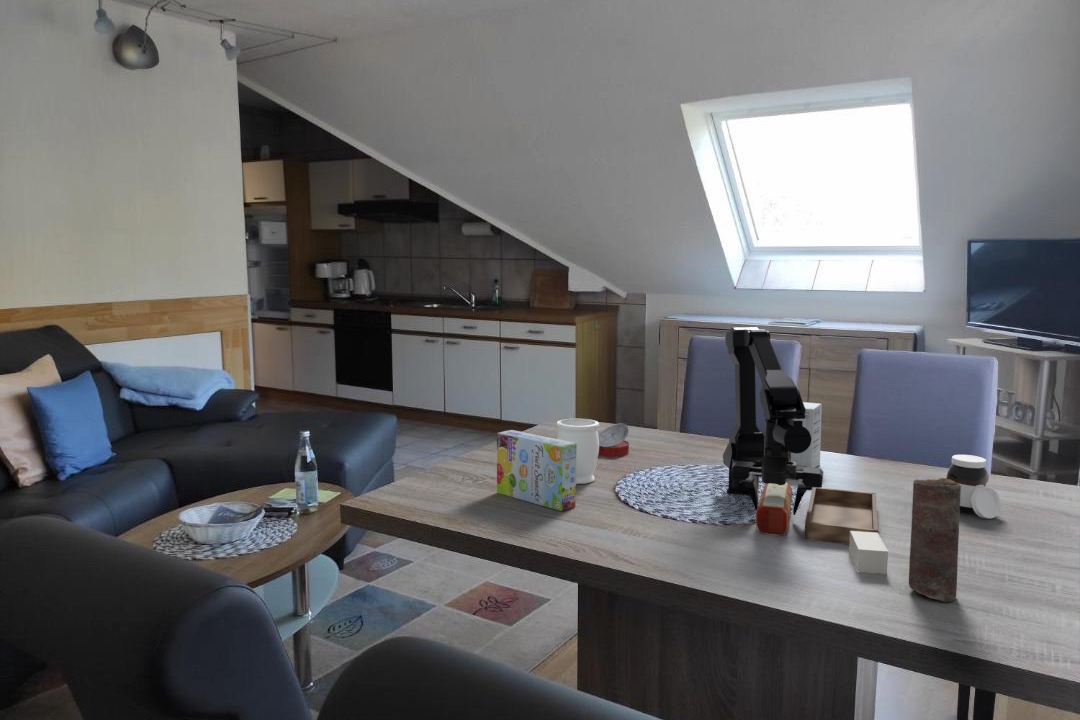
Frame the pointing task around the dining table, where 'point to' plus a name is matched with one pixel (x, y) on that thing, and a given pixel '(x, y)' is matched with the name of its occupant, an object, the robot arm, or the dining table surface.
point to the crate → (839, 514)
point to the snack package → (774, 509)
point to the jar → (582, 445)
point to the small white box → (868, 552)
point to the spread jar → (974, 486)
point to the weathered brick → (935, 538)
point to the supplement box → (814, 427)
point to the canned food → (614, 441)
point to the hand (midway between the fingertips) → (775, 512)
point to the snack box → (537, 469)
